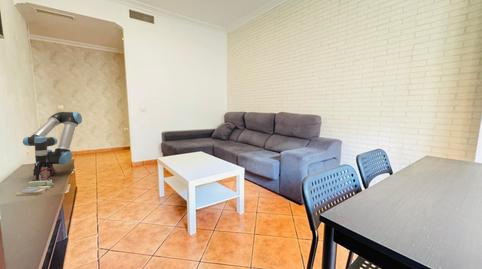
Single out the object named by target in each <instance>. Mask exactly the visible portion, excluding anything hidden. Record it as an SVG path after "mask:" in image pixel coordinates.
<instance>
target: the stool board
mask: <svg viewBox="0 0 482 269" xmlns="http://www.w3.org/2000/svg"><path fill="white" fill-rule="evenodd" d="M32 181H40V180H39V179H35V178H34V179H32ZM31 187H40V188H41V189H40V190H38V191H34V192H30V193H21V192H20V191H18V192H16V193H15V194H16V197H24V196H27V197H28V196H40V195H42V194H43V193H45V192H47V191H49V190H50V189H52V188H54V187H55V183H52V185H41V186H27V188H31Z"/></svg>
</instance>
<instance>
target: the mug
mask: <svg viewBox="0 0 482 269" xmlns="http://www.w3.org/2000/svg"><path fill="white" fill-rule="evenodd" d="M49 169H50V170H51V173H50V175H49V176H48V177H47V172H48V170H49ZM40 171H41V172H40V177H41V181H45V180H49V178H51V175H52V172H53V170H52V169H51V168H48V169H47V167H42V168H41V170H40ZM32 172H33V174H34V168H32ZM52 176H53V175H52ZM33 177H34V179H36V176H34V175H33Z"/></svg>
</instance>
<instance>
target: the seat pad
mask: <svg viewBox="0 0 482 269" xmlns="http://www.w3.org/2000/svg"><path fill="white" fill-rule="evenodd" d="M40 189H41V188H40V187H31V188H28V187H26V188H24V189H21V190H20V191H19V192H21V193H30V192H34V191H38V190H40Z"/></svg>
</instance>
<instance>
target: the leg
mask: <svg viewBox="0 0 482 269" xmlns="http://www.w3.org/2000/svg"><path fill="white" fill-rule="evenodd" d="M52 184H53V180H52V179H48V180H45V181H28V182H27V187H30V186H41V185H52Z"/></svg>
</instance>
